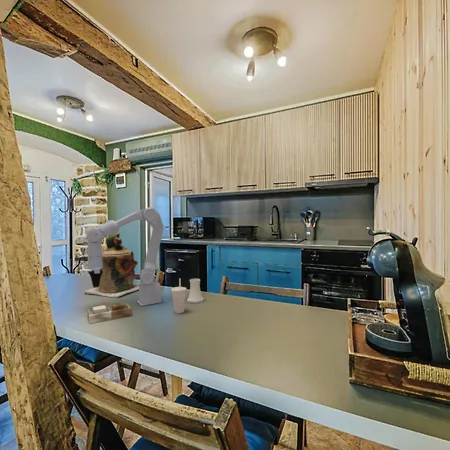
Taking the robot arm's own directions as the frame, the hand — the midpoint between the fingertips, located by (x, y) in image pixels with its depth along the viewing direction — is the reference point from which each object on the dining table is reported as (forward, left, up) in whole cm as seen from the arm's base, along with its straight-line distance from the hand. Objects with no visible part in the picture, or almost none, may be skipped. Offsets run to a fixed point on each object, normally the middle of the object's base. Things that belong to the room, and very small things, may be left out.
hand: (96, 287), depth 120 cm
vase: (-41, +14, -10) cm, 44 cm away
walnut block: (-7, +13, -10) cm, 17 cm away
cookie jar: (-13, -28, -10) cm, 32 cm away
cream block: (0, +13, -10) cm, 16 cm away
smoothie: (-29, +24, -10) cm, 39 cm away
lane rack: (-4, +13, -9) cm, 17 cm away
